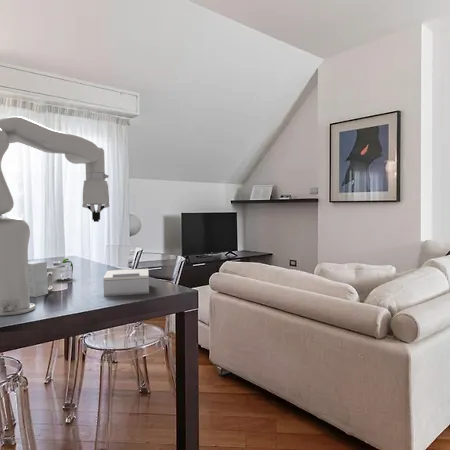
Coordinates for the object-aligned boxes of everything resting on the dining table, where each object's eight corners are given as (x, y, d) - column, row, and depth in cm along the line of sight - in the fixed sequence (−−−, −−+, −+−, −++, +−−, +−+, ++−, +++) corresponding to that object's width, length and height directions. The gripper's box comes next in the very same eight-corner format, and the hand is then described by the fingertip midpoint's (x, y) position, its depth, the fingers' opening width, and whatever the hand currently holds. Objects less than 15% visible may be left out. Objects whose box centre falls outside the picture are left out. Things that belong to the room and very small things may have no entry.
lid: (148, 278, 152) (148, 272, 152) (103, 280, 149) (103, 275, 149) (148, 270, 170) (148, 266, 169) (107, 272, 166) (107, 268, 166)
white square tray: (149, 293, 153) (148, 278, 152) (104, 296, 149) (103, 280, 149) (148, 285, 169) (148, 271, 169) (108, 287, 166) (107, 273, 166)
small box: (48, 294, 156) (47, 261, 155) (35, 297, 150) (33, 264, 149) (34, 292, 159) (32, 260, 158) (20, 295, 153) (18, 263, 152)
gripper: (114, 178, 166) (115, 221, 167) (78, 178, 163) (79, 221, 164) (113, 176, 159) (114, 221, 159) (74, 176, 156) (75, 222, 157)
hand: (96, 221), depth 162 cm, fingers closed
